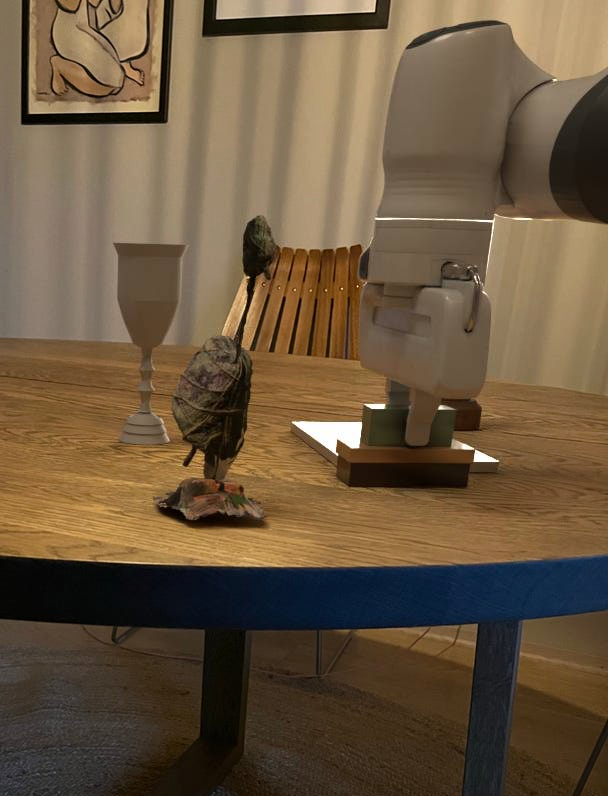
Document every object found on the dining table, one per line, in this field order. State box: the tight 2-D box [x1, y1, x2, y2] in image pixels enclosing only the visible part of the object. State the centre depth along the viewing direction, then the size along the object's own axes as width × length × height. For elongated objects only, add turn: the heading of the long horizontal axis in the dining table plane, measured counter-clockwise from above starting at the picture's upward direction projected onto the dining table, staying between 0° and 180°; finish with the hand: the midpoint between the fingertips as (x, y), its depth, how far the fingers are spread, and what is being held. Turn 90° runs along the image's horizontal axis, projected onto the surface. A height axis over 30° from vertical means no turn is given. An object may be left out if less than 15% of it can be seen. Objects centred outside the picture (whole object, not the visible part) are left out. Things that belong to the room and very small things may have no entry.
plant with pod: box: [152, 214, 277, 521], centre depth 72 cm, size 8×11×20 cm
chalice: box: [112, 242, 189, 446], centre depth 98 cm, size 7×7×18 cm
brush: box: [335, 403, 477, 488], centre depth 85 cm, size 10×4×6 cm, turn 95°
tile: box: [290, 421, 500, 474], centre depth 99 cm, size 14×20×1 cm
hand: (406, 439), depth 85 cm, fingers closed on brush, 2 cm apart
